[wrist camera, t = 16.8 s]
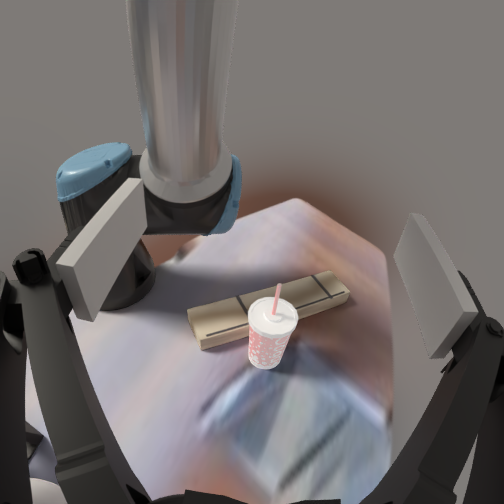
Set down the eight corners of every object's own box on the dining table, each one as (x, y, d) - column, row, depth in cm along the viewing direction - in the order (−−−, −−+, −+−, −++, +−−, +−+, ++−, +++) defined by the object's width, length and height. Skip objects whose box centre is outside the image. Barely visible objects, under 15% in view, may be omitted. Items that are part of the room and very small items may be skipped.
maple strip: (188, 320, 47) (187, 308, 46) (327, 280, 57) (330, 269, 56) (201, 350, 43) (200, 339, 41) (346, 302, 53) (350, 291, 51)
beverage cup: (249, 378, 40) (261, 309, 32) (238, 343, 45) (245, 269, 36) (292, 368, 42) (315, 299, 33) (277, 335, 46) (294, 263, 38)
